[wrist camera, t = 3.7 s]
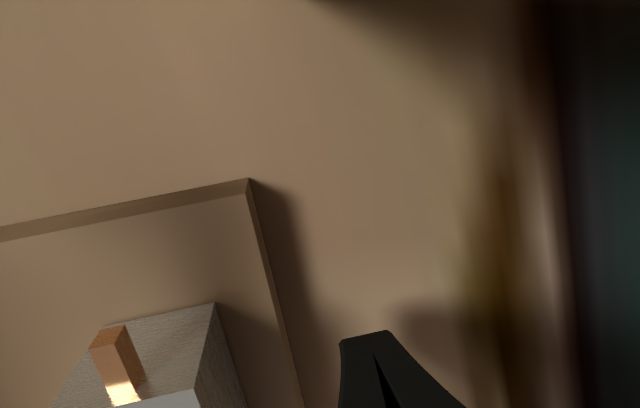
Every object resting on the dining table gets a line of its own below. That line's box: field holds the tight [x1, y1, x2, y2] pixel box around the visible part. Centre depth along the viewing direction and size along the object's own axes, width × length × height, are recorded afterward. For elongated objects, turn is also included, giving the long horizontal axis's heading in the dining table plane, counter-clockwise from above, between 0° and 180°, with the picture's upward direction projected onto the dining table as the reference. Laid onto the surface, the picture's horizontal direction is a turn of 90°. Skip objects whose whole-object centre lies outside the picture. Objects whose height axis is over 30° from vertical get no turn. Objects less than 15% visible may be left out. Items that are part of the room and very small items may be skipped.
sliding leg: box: [49, 303, 247, 408], centre depth 9 cm, size 3×6×3 cm, turn 10°
